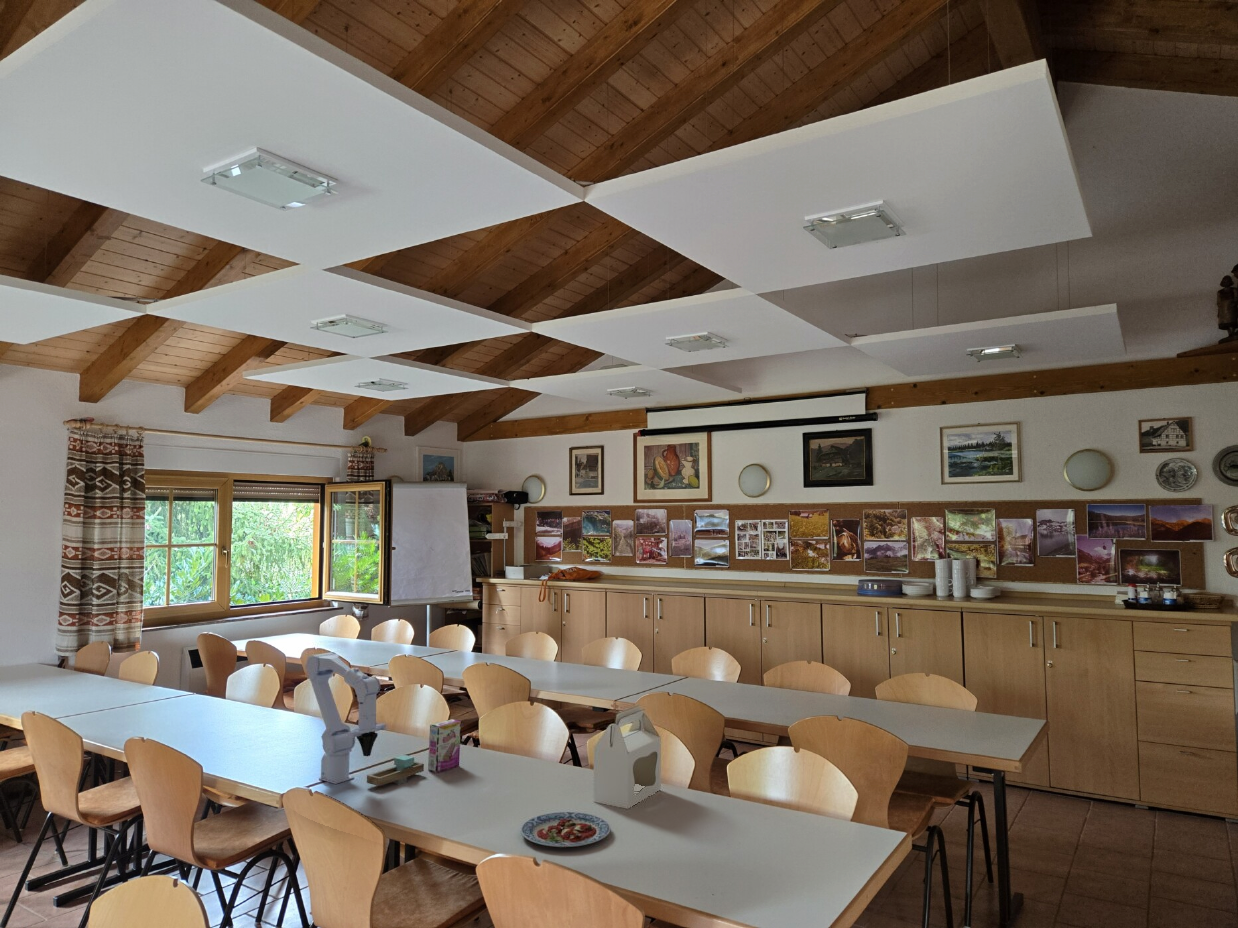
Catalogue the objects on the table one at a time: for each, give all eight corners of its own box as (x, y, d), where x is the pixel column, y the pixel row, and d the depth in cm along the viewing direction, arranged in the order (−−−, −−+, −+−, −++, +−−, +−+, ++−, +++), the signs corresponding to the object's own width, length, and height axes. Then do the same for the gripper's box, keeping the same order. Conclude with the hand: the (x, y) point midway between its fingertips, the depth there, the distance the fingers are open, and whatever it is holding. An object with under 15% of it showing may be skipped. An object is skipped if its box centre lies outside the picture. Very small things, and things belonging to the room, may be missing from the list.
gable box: (627, 810, 252) (628, 718, 254) (592, 802, 259) (593, 713, 261) (661, 790, 271) (661, 705, 273) (627, 783, 278) (628, 700, 280)
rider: (393, 771, 281) (394, 757, 281) (403, 767, 284) (403, 754, 285) (404, 773, 278) (404, 760, 278) (413, 770, 281) (414, 757, 282)
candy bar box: (437, 773, 287) (438, 726, 288) (427, 770, 290) (428, 724, 291) (460, 765, 296) (461, 720, 297) (451, 763, 299) (452, 718, 300)
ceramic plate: (563, 812, 250) (564, 802, 250) (628, 833, 233) (628, 823, 233) (501, 837, 230) (501, 826, 230) (567, 862, 213) (567, 850, 214)
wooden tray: (365, 787, 271) (366, 774, 272) (410, 772, 288) (411, 760, 288) (379, 790, 268) (380, 778, 268) (424, 775, 284) (424, 763, 285)
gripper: (357, 720, 265) (357, 762, 264) (392, 711, 277) (391, 752, 276) (343, 717, 269) (343, 759, 268) (378, 709, 281) (377, 749, 280)
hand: (366, 755), depth 272 cm, fingers closed
